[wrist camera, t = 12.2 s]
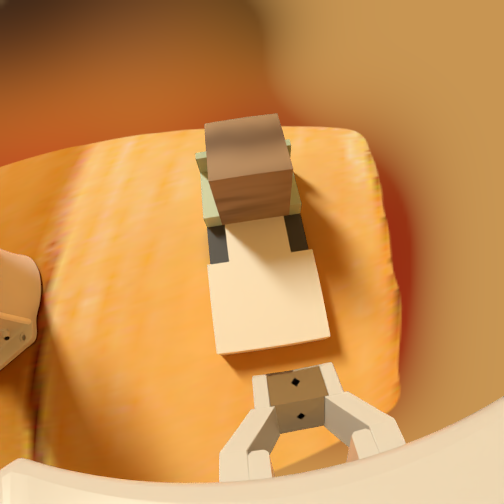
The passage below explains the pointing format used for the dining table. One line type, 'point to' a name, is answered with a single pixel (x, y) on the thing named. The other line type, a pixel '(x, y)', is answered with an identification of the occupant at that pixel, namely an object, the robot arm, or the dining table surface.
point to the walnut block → (248, 168)
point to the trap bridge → (261, 278)
